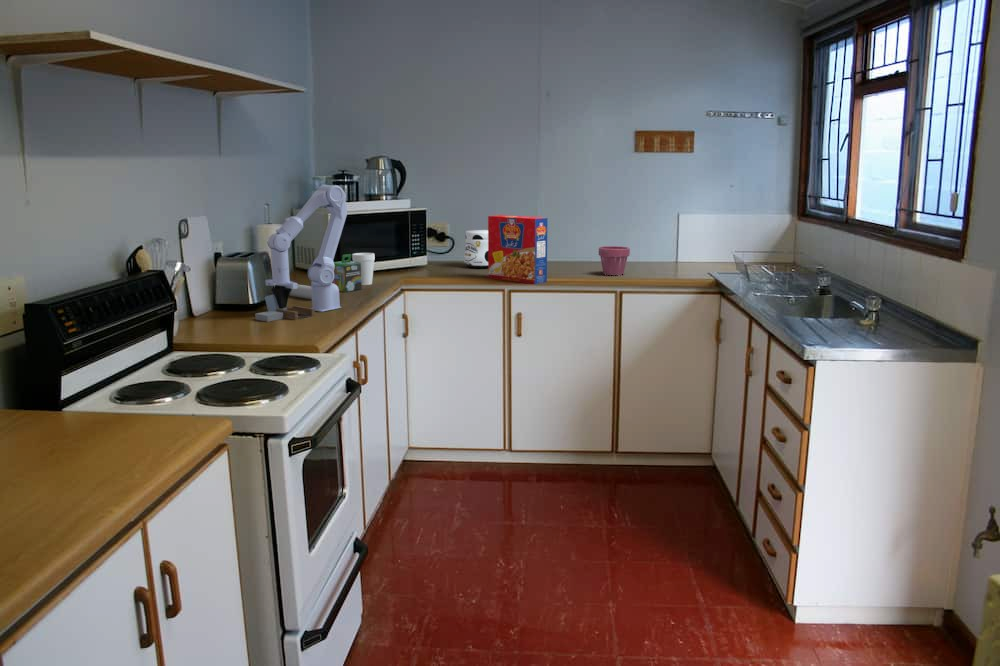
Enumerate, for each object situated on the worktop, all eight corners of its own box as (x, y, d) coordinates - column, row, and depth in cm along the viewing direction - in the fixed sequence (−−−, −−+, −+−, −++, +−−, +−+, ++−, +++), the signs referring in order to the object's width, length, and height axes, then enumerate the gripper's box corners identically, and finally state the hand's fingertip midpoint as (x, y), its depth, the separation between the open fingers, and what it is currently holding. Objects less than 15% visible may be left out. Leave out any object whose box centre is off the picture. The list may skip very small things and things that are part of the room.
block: (279, 311, 279) (275, 295, 279) (287, 309, 277) (282, 292, 276) (268, 313, 276) (264, 296, 275) (276, 311, 273) (272, 294, 273)
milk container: (459, 268, 392) (458, 232, 388) (470, 264, 408) (470, 229, 404) (492, 270, 387) (492, 233, 383) (502, 265, 403) (502, 230, 399)
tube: (272, 284, 316) (310, 290, 300) (283, 279, 319) (321, 284, 303) (277, 296, 318) (314, 303, 302) (287, 291, 322) (325, 297, 306)
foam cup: (379, 282, 346) (378, 253, 343) (369, 285, 337) (368, 255, 334) (359, 281, 349) (358, 252, 346) (349, 284, 340) (348, 254, 337)
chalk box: (348, 287, 333) (346, 252, 330) (362, 289, 327) (361, 254, 324) (330, 290, 326) (329, 254, 323) (345, 292, 320) (343, 256, 317)
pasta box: (488, 277, 360) (488, 216, 354) (500, 276, 366) (500, 215, 360) (534, 284, 341) (535, 218, 336) (546, 282, 347) (547, 218, 341)
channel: (295, 312, 277) (295, 305, 277) (314, 315, 272) (314, 308, 271) (276, 316, 271) (275, 309, 270) (295, 319, 265) (294, 312, 264)
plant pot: (621, 272, 378) (622, 245, 376) (633, 276, 365) (634, 248, 362) (593, 273, 375) (594, 246, 372) (604, 277, 361) (605, 249, 359)
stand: (271, 316, 271) (270, 310, 270) (283, 318, 267) (282, 312, 266) (255, 319, 266) (255, 313, 265) (267, 321, 262) (267, 315, 261)
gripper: (257, 268, 273) (259, 307, 275) (284, 271, 264) (287, 311, 267) (274, 266, 278) (276, 304, 281) (301, 269, 270) (303, 308, 273)
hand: (282, 307), depth 274 cm, fingers closed
